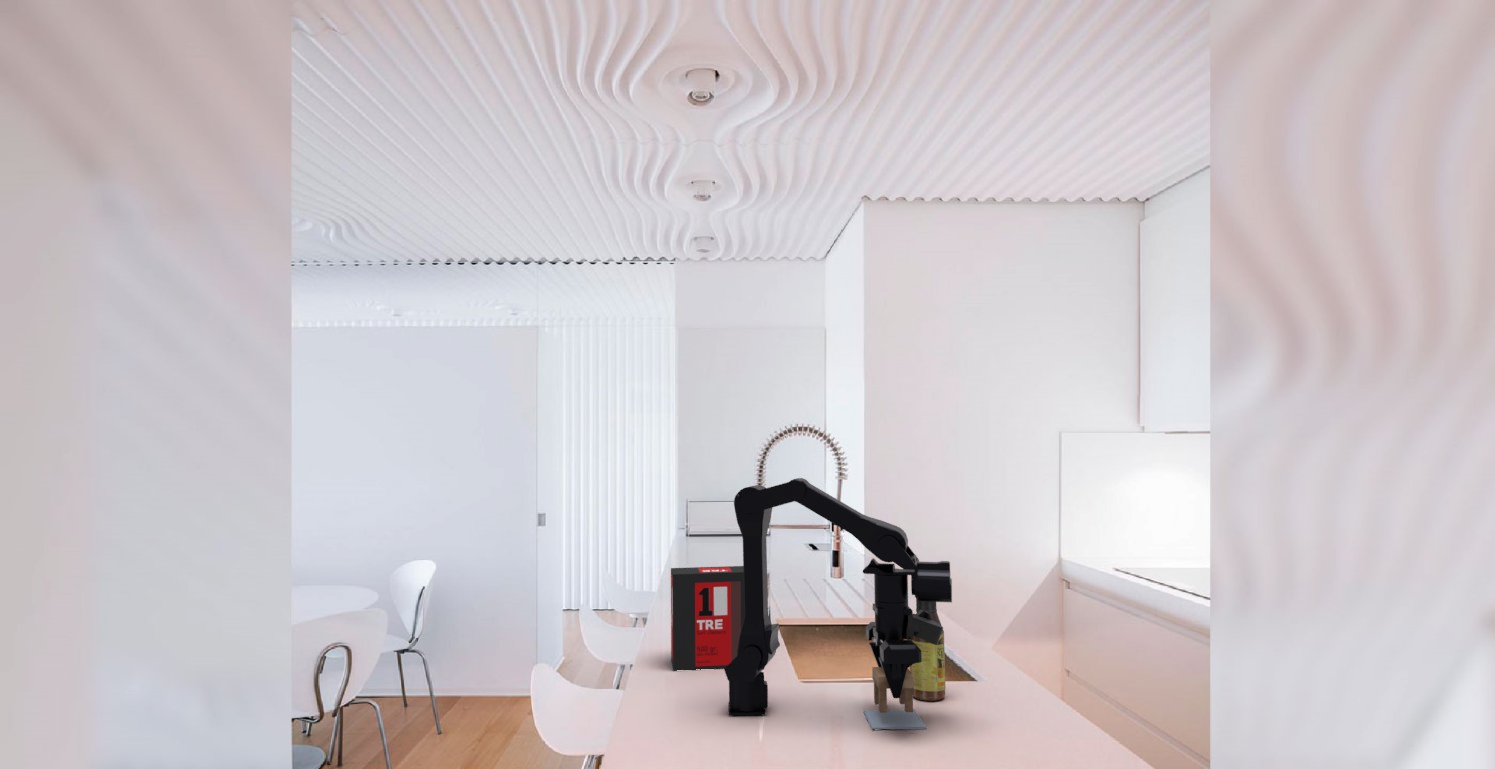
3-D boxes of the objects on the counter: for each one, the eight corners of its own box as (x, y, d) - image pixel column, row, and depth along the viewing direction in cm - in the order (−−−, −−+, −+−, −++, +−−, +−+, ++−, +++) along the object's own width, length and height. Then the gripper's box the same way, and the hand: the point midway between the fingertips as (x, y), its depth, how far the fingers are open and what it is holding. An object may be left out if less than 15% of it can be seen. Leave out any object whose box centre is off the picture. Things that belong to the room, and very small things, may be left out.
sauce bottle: (946, 703, 157) (943, 592, 158) (911, 701, 158) (909, 591, 159) (945, 693, 163) (942, 586, 165) (911, 691, 165) (909, 585, 166)
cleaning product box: (673, 671, 180) (672, 574, 181) (671, 660, 189) (670, 568, 190) (751, 667, 182) (750, 572, 184) (746, 657, 191) (745, 565, 192)
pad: (872, 730, 143) (872, 727, 143) (863, 713, 152) (863, 710, 152) (926, 729, 143) (926, 726, 143) (914, 712, 152) (914, 709, 152)
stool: (878, 713, 145) (878, 676, 145) (872, 702, 151) (872, 667, 151) (914, 712, 145) (913, 676, 145) (907, 701, 151) (906, 666, 151)
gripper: (951, 610, 140) (954, 709, 139) (925, 590, 158) (927, 676, 157) (883, 611, 139) (884, 710, 138) (864, 590, 158) (866, 677, 157)
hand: (892, 692), depth 148 cm, fingers closed on stool, 6 cm apart
